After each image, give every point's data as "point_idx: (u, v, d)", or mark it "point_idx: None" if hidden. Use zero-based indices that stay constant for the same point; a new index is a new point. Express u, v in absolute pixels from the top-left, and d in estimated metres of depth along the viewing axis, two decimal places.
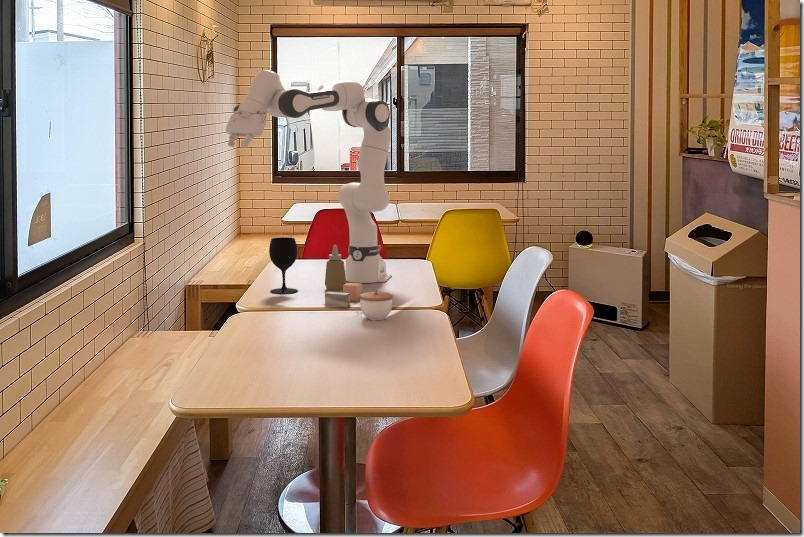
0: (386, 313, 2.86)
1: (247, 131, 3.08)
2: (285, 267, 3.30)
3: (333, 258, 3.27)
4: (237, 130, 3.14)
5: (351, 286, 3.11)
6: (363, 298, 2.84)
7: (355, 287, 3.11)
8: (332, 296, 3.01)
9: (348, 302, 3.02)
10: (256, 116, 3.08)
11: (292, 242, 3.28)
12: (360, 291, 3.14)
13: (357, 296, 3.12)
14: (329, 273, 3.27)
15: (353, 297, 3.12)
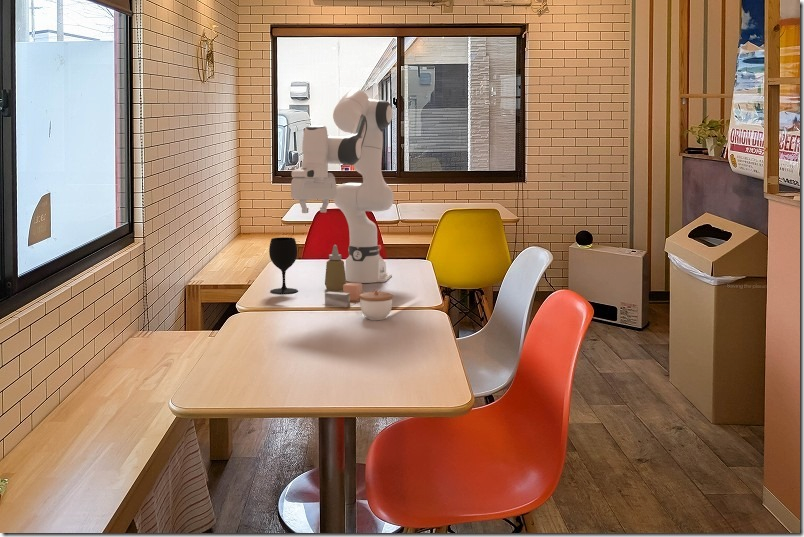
0: (386, 313, 2.86)
1: (329, 198, 3.10)
2: (285, 267, 3.30)
3: (333, 258, 3.27)
4: (316, 197, 3.04)
5: (351, 286, 3.11)
6: (363, 298, 2.84)
7: (355, 287, 3.11)
8: (332, 296, 3.01)
9: (348, 302, 3.02)
10: (333, 181, 3.11)
11: (292, 242, 3.28)
12: (360, 291, 3.14)
13: (357, 296, 3.12)
14: (329, 273, 3.27)
15: (353, 297, 3.12)
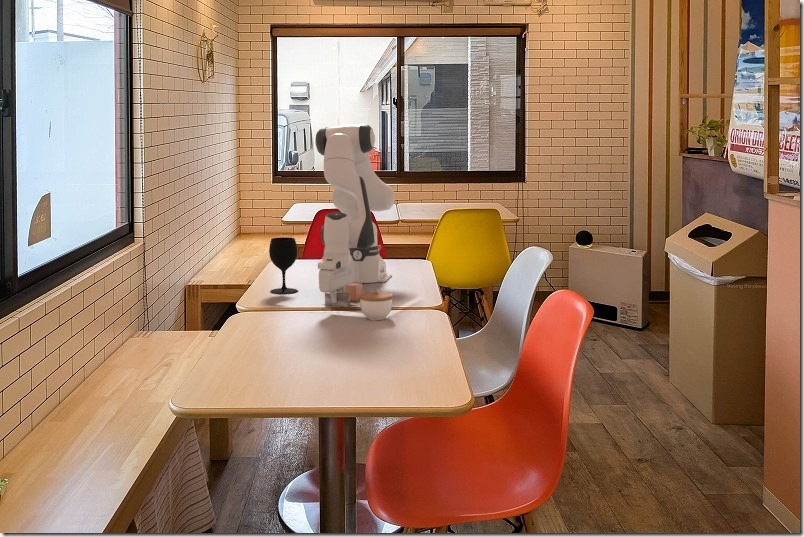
0: (386, 313, 2.86)
1: (349, 283, 3.07)
2: (285, 267, 3.30)
3: None
4: (340, 286, 3.00)
5: (351, 286, 3.11)
6: (363, 298, 2.84)
7: (355, 287, 3.11)
8: None
9: (348, 302, 3.02)
10: (351, 266, 3.07)
11: (292, 242, 3.28)
12: (360, 291, 3.14)
13: (357, 295, 3.12)
14: None
15: (353, 297, 3.12)
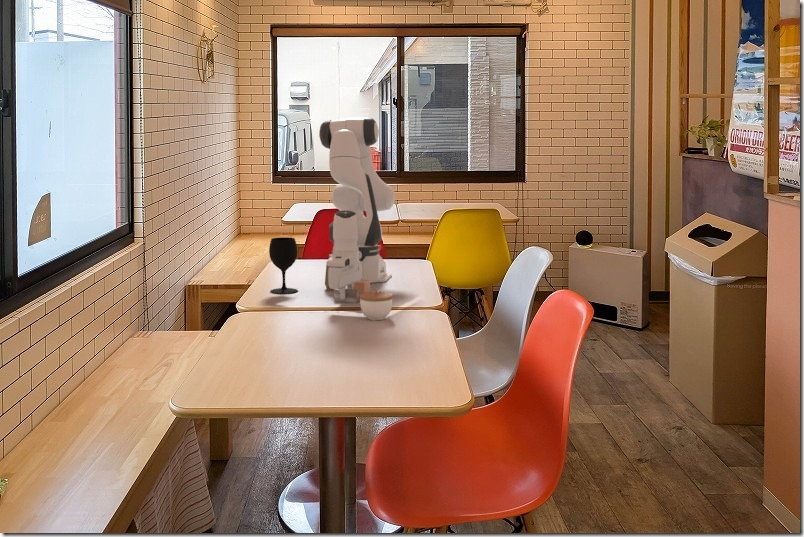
0: (386, 313, 2.86)
1: (357, 280, 3.13)
2: (285, 267, 3.30)
3: None
4: (349, 283, 3.07)
5: (359, 283, 3.18)
6: (363, 298, 2.84)
7: (363, 284, 3.17)
8: None
9: (357, 298, 3.08)
10: (359, 264, 3.14)
11: (292, 242, 3.28)
12: (368, 288, 3.21)
13: (365, 292, 3.19)
14: None
15: (361, 293, 3.18)
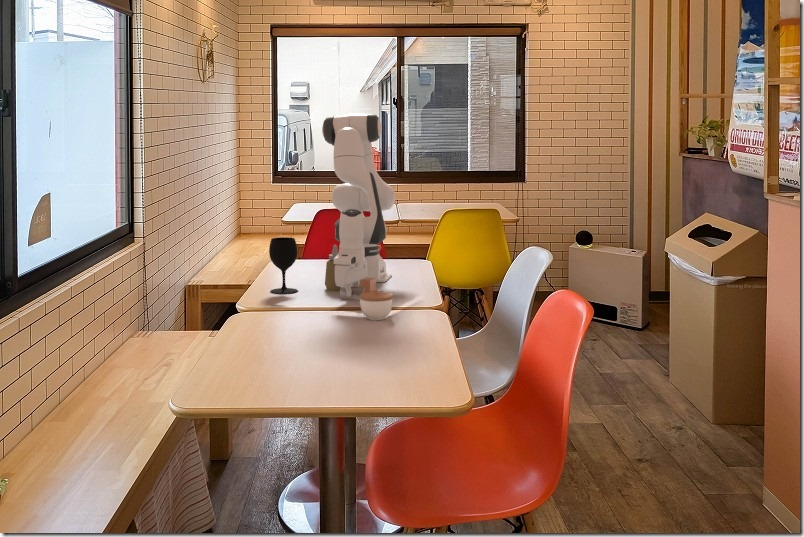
0: (386, 313, 2.86)
1: (363, 278, 3.18)
2: (285, 267, 3.30)
3: (333, 258, 3.27)
4: (355, 280, 3.11)
5: (365, 280, 3.22)
6: (363, 298, 2.84)
7: (369, 281, 3.22)
8: None
9: None
10: (365, 261, 3.18)
11: (292, 242, 3.28)
12: (374, 285, 3.25)
13: (371, 290, 3.23)
14: (329, 273, 3.27)
15: (367, 291, 3.23)
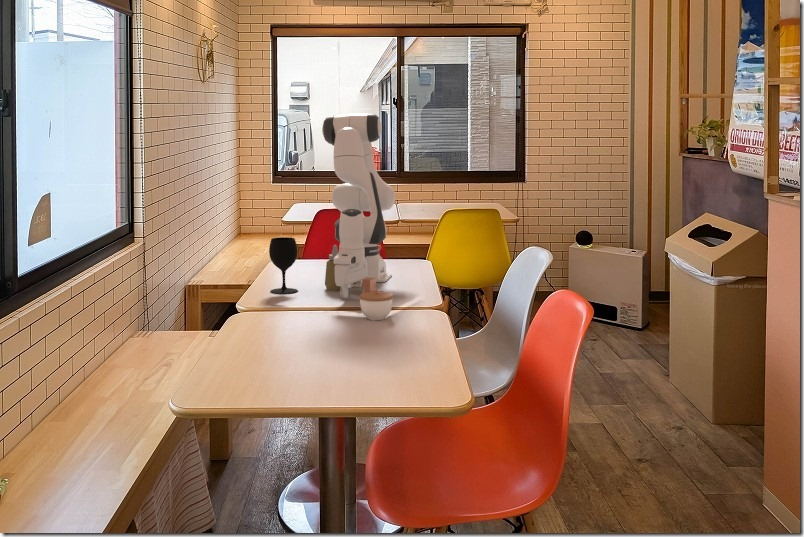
0: (386, 313, 2.86)
1: (363, 278, 3.18)
2: (285, 267, 3.30)
3: (333, 258, 3.27)
4: (355, 280, 3.11)
5: (365, 280, 3.22)
6: (363, 298, 2.84)
7: (369, 281, 3.22)
8: None
9: None
10: (365, 261, 3.18)
11: (292, 242, 3.28)
12: (374, 285, 3.25)
13: (371, 290, 3.23)
14: (329, 273, 3.27)
15: (367, 291, 3.23)
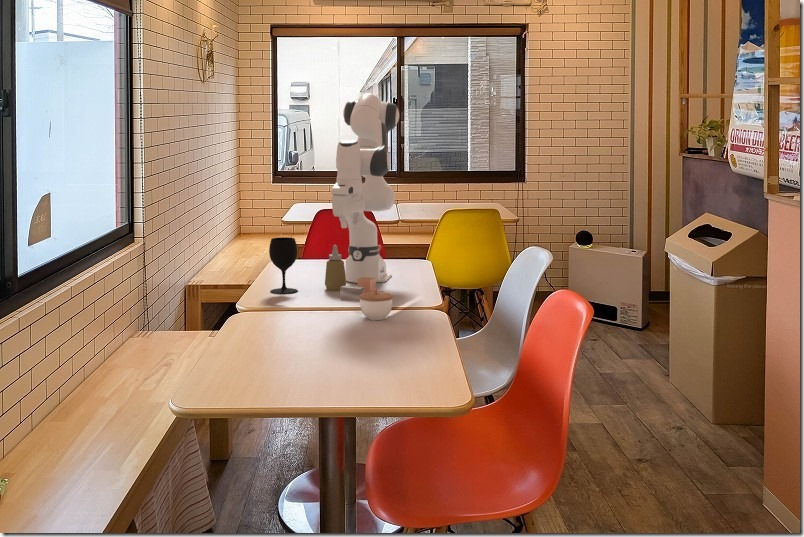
0: (386, 313, 2.86)
1: (361, 209, 3.19)
2: (285, 267, 3.30)
3: (333, 258, 3.27)
4: (353, 211, 3.12)
5: (365, 280, 3.22)
6: (363, 298, 2.84)
7: (369, 281, 3.22)
8: (347, 290, 3.13)
9: None
10: (362, 193, 3.19)
11: (292, 242, 3.28)
12: (374, 285, 3.25)
13: (371, 290, 3.23)
14: (329, 273, 3.27)
15: (367, 291, 3.23)
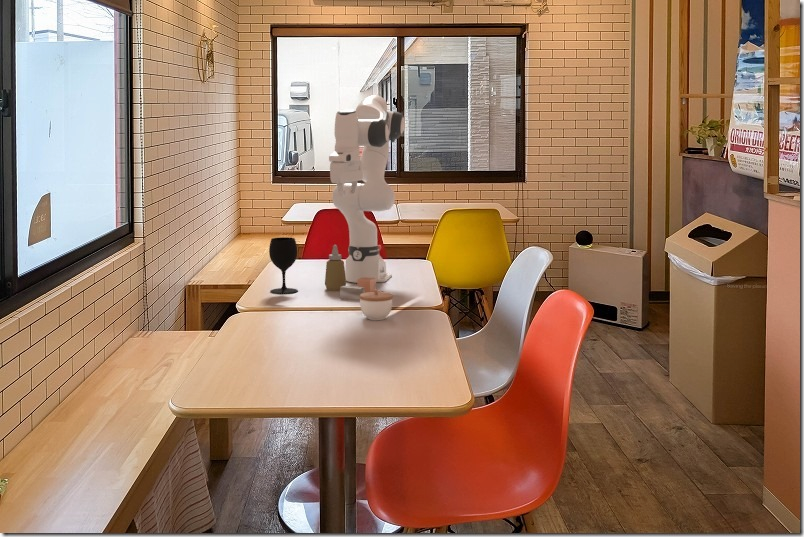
0: (386, 313, 2.86)
1: (358, 179, 3.23)
2: (285, 267, 3.30)
3: (333, 258, 3.27)
4: (350, 180, 3.17)
5: (365, 280, 3.22)
6: (363, 298, 2.84)
7: (369, 281, 3.22)
8: (347, 290, 3.13)
9: None
10: (360, 163, 3.24)
11: (292, 242, 3.28)
12: (374, 285, 3.25)
13: (371, 290, 3.23)
14: (329, 273, 3.27)
15: (367, 291, 3.23)
